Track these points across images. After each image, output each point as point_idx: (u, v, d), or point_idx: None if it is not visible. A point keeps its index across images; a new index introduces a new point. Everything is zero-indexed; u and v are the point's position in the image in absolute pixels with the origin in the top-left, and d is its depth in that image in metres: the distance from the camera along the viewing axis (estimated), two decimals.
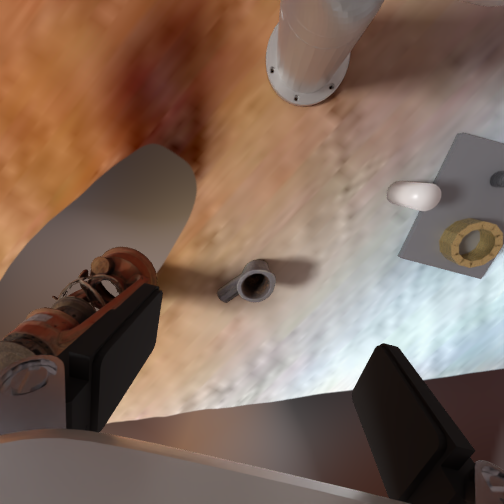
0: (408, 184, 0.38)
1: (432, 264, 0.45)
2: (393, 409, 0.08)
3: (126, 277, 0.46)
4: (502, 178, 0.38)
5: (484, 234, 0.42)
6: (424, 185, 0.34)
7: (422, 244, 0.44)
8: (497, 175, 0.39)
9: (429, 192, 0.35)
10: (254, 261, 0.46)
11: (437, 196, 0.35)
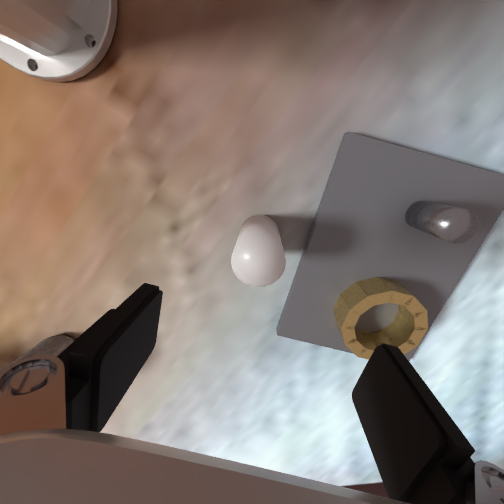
0: (246, 229, 0.20)
1: (327, 344, 0.28)
2: (393, 409, 0.08)
3: None
4: (420, 217, 0.20)
5: None
6: (248, 240, 0.17)
7: (307, 316, 0.27)
8: (414, 209, 0.21)
9: (262, 252, 0.17)
10: (45, 341, 0.29)
11: (278, 260, 0.17)
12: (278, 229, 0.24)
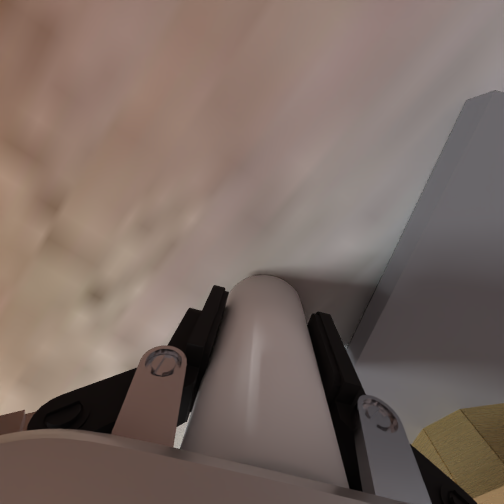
0: (228, 343, 0.08)
1: None
2: None
3: None
4: None
5: None
6: None
7: None
8: None
9: None
10: None
11: None
12: None
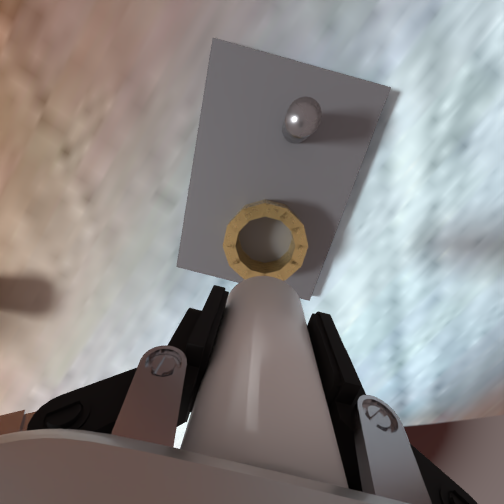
0: (227, 344, 0.08)
1: (228, 277, 0.28)
2: None
3: None
4: (283, 122, 0.20)
5: None
6: None
7: (203, 244, 0.27)
8: None
9: None
10: None
11: None
12: (301, 306, 0.12)
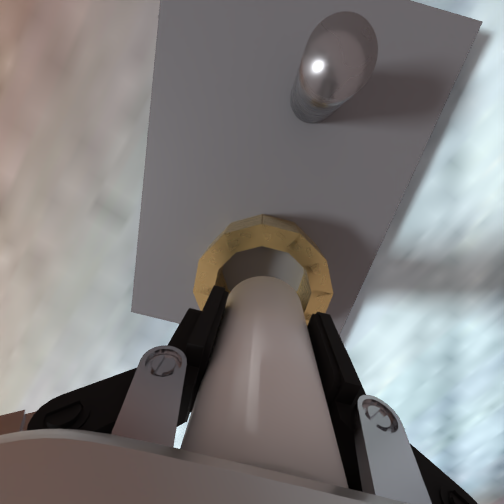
0: (227, 344, 0.08)
1: None
2: None
3: None
4: (295, 80, 0.11)
5: None
6: None
7: (168, 281, 0.18)
8: None
9: None
10: None
11: None
12: (301, 306, 0.12)
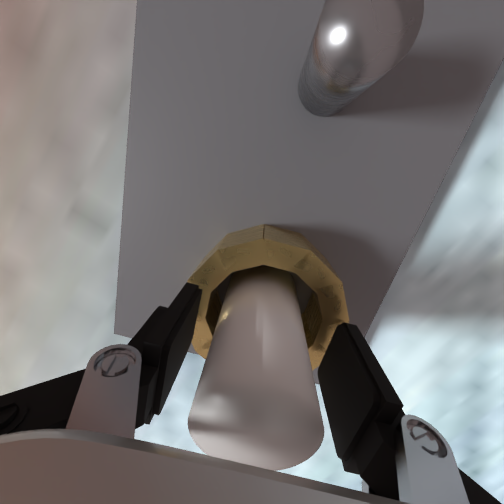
0: (230, 313, 0.10)
1: None
2: (345, 378, 0.09)
3: None
4: (305, 60, 0.09)
5: None
6: (227, 389, 0.06)
7: (155, 299, 0.15)
8: None
9: (264, 414, 0.07)
10: None
11: (305, 430, 0.07)
12: (294, 285, 0.14)
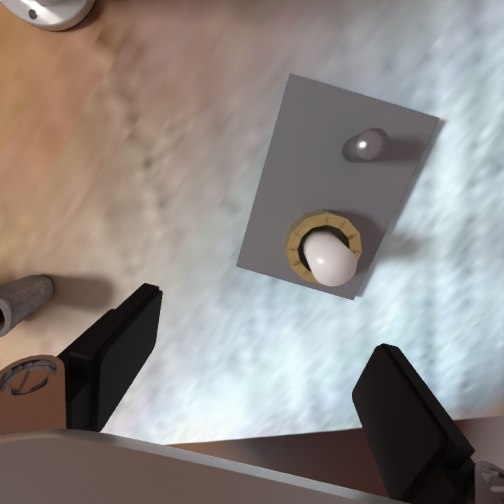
0: (316, 239, 0.24)
1: (281, 277, 0.31)
2: (393, 409, 0.08)
3: None
4: (348, 145, 0.24)
5: (343, 233, 0.28)
6: (327, 248, 0.21)
7: (262, 247, 0.30)
8: (347, 142, 0.25)
9: (337, 258, 0.21)
10: (24, 277, 0.33)
11: (350, 264, 0.22)
12: None
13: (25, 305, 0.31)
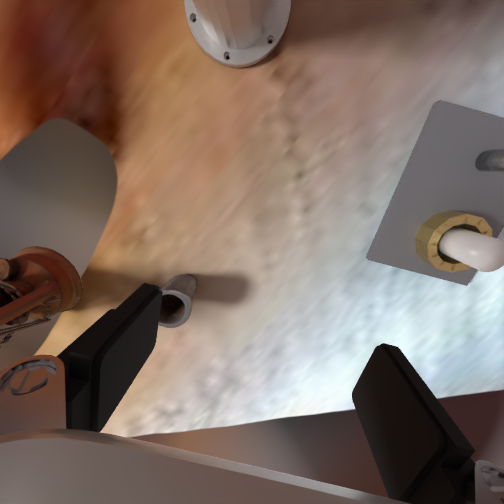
0: (461, 235, 0.30)
1: (407, 267, 0.37)
2: (393, 409, 0.08)
3: (33, 283, 0.37)
4: (490, 158, 0.29)
5: (470, 230, 0.33)
6: (488, 242, 0.27)
7: (394, 243, 0.36)
8: (484, 155, 0.30)
9: (495, 249, 0.27)
10: (178, 277, 0.39)
11: None
12: None
13: None
